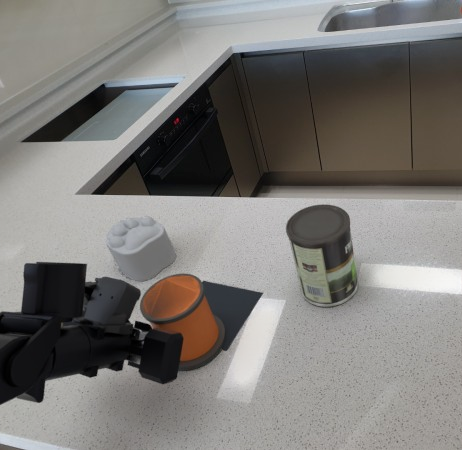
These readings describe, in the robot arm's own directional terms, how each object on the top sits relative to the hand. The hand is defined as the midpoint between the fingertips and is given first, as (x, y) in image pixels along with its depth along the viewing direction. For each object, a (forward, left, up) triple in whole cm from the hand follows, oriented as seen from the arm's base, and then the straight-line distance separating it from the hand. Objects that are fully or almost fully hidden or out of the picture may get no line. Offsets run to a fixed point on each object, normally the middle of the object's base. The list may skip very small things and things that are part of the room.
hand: (161, 336), depth 68 cm
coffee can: (+28, -6, -8) cm, 29 cm away
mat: (+10, +5, -7) cm, 13 cm away
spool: (+4, +2, -7) cm, 9 cm away
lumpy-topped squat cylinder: (+9, +30, -8) cm, 32 cm away
